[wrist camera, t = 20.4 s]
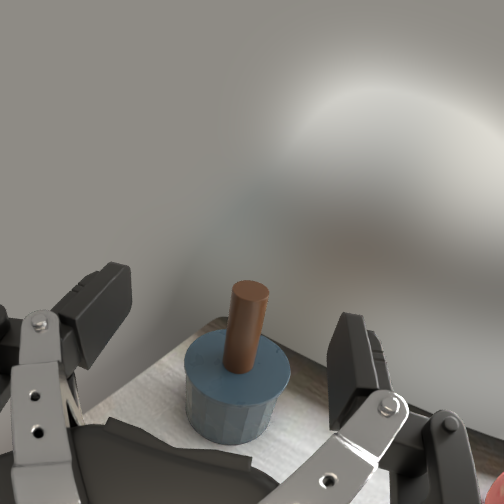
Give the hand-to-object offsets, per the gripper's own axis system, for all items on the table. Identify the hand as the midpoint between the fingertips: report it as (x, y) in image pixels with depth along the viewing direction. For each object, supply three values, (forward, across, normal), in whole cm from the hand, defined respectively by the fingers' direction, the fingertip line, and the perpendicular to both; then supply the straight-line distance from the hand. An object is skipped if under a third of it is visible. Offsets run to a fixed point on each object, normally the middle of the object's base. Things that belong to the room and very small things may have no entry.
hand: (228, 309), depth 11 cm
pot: (+11, 0, +22) cm, 25 cm away
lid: (+11, 0, +15) cm, 18 cm away
